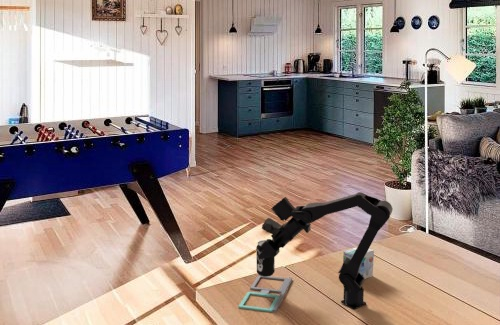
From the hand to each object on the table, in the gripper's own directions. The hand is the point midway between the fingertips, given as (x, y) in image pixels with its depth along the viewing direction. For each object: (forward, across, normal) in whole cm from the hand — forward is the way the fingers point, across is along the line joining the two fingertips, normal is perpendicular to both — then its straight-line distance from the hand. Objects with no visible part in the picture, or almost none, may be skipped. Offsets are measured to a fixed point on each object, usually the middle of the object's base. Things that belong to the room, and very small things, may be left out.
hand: (262, 254), depth 203 cm
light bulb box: (-12, -23, +32) cm, 41 cm away
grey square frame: (+8, -4, +10) cm, 14 cm away
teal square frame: (+7, +11, +12) cm, 17 cm away
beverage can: (+4, 0, +6) cm, 8 cm away
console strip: (+6, +3, +13) cm, 15 cm away
